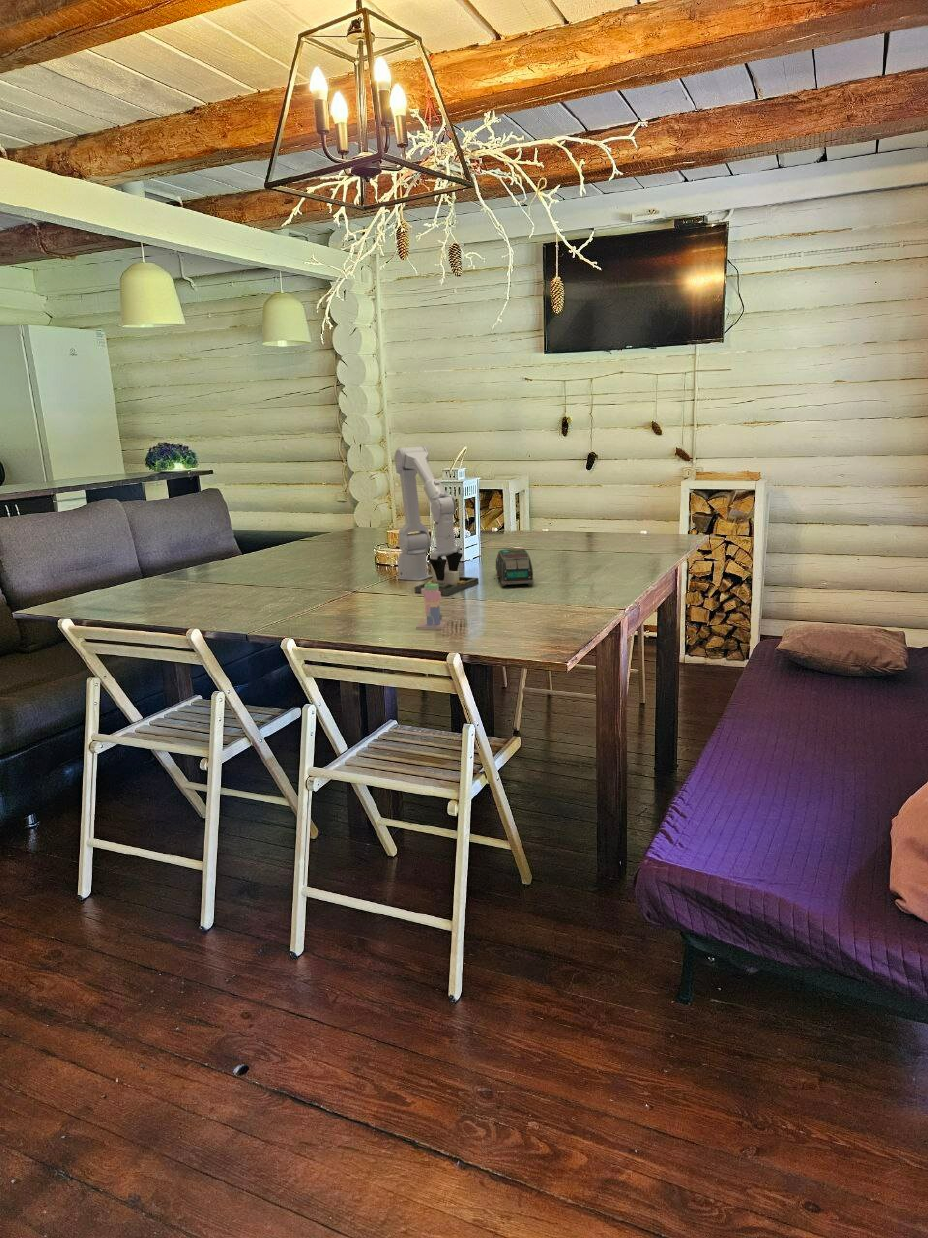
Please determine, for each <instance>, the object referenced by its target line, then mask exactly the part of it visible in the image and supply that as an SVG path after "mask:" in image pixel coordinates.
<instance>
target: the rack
mask: <svg viewBox="0 0 928 1238" xmlns="http://www.w3.org/2000/svg"><path fill="white" fill-rule="evenodd" d="M429 581H431V584H438V585H439V591H441V597H444V596H445V597H449V596H451V595H454V594H456V593H459V592H462V591H465V590H467V589H469V588H471V587H474V586H478V585H479V584H480V582H479V577H473V576H471V577H470V576H459V582H457V585H450V583H438V582H433V578H431V579H429V580H428V581H427V582H423V583H422V584H419V585H416V586H414V594H418V595H420V594H421V589H422V588H424V586H425V585H426V584H427V583H428V582H429ZM421 595H422V594H421Z"/></svg>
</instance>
